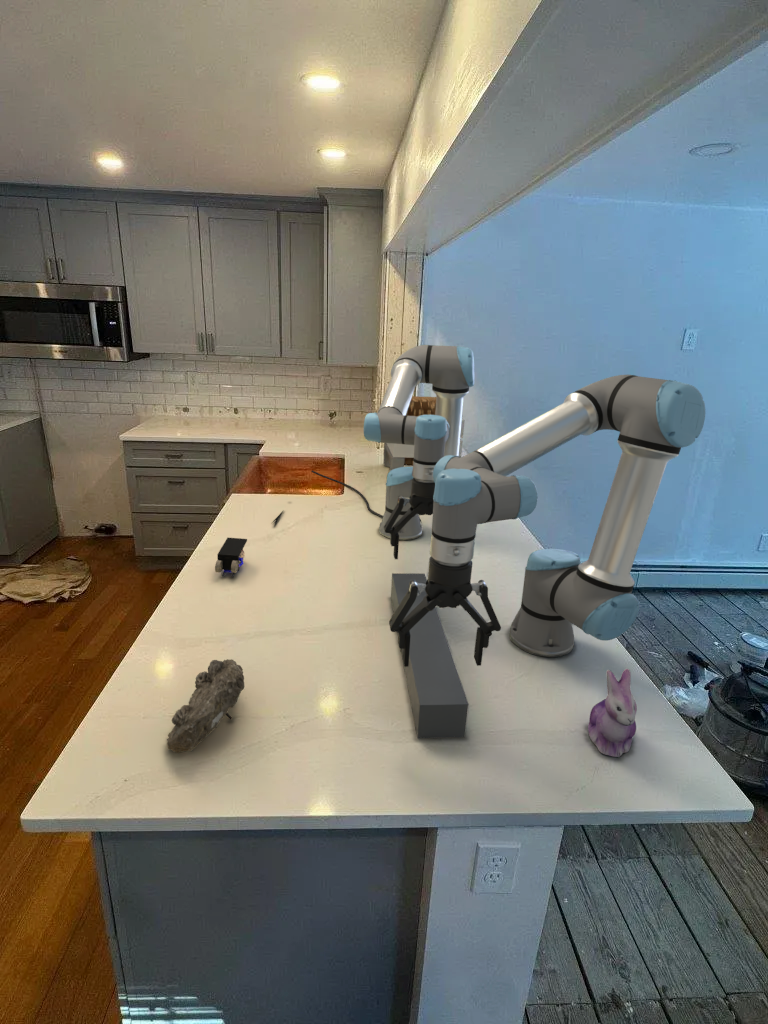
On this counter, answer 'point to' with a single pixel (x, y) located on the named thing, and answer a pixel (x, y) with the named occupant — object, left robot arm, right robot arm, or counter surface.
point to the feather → (277, 518)
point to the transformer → (405, 453)
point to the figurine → (614, 717)
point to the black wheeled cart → (230, 556)
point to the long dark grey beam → (431, 671)
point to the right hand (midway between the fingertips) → (441, 661)
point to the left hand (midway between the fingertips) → (421, 557)
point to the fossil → (206, 705)
